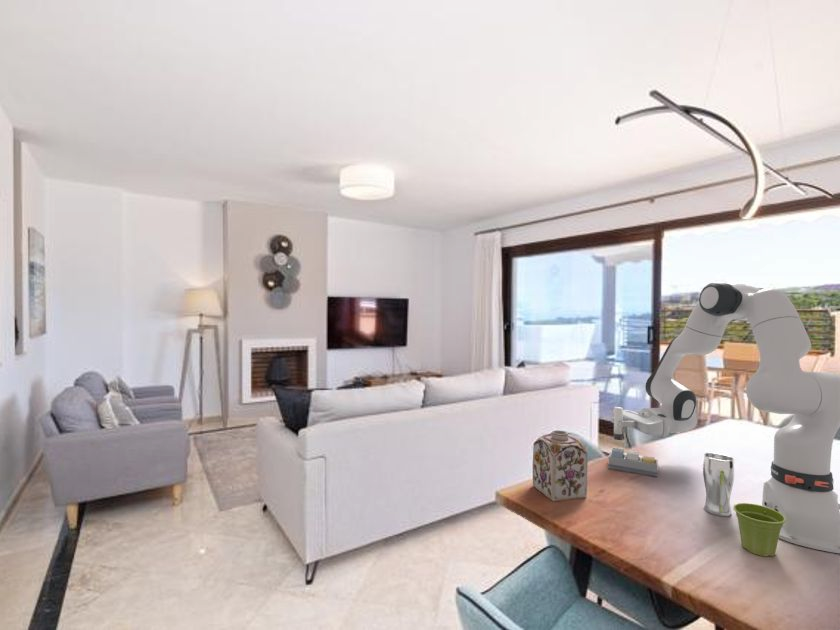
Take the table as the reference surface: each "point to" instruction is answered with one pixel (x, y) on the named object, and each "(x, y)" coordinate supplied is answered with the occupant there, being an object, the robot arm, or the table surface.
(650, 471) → the keypad
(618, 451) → the key slate
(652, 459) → the key amber
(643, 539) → the table surface
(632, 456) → the key white
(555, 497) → the decorative jar
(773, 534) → the plant pot
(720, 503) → the beer glass
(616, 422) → the white rounded cylinder
